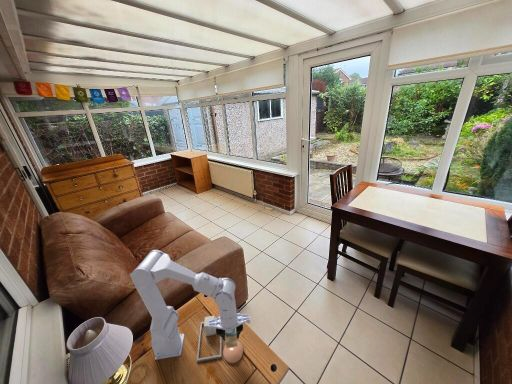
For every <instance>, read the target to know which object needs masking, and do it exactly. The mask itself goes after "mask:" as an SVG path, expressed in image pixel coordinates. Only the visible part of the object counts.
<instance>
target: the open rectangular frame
mask: <svg viewBox="0 0 512 384" xmlns="http://www.w3.org/2000/svg"><path fill="white" fill-rule="evenodd" d="M203 326H204V321H202V322H200V328H199V335H198V345H197V355H196V362H197V363H201V362H205V361H210V360H215V359H222V353H223V350H222V347H223V342H222V341H223V338H222V337H221V336H219V339H220V340H219V354H217V355H212V356H205V357H200V350H201V342H202V341H201V340H202V329H203Z"/></svg>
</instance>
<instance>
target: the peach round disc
mask: <svg viewBox="0 0 512 384" xmlns="http://www.w3.org/2000/svg"><path fill="white" fill-rule="evenodd" d="M237 344H238V346H236V347H230V348H226V344H225V345H224V347H223V350H222V353H223V358H224V360H225V361H226V362H227V363H228V364H235V363H238V362H239V361H240V360H241V359H242V357H243V354H244V348H243V343H241V341H240V340H237Z"/></svg>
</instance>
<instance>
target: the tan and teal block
mask: <svg viewBox="0 0 512 384" xmlns="http://www.w3.org/2000/svg"><path fill="white" fill-rule="evenodd" d="M237 341H238V339H237V333H236V328H234V329H233V331H232V332H231V333H226V330H225V341H224V342H225V345H226V348H230V347H236V346H238V344H237Z"/></svg>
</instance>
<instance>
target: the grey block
mask: <svg viewBox="0 0 512 384" xmlns="http://www.w3.org/2000/svg"><path fill="white" fill-rule="evenodd" d="M215 318H216V317H215V315H209V316H205V317H204V321H203V322H204V325H203V328H204V333H205V336H206V337H208V336H214V335H217V333H216V328H212V329H211V330H208V321H210V320H213V319H215Z"/></svg>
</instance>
